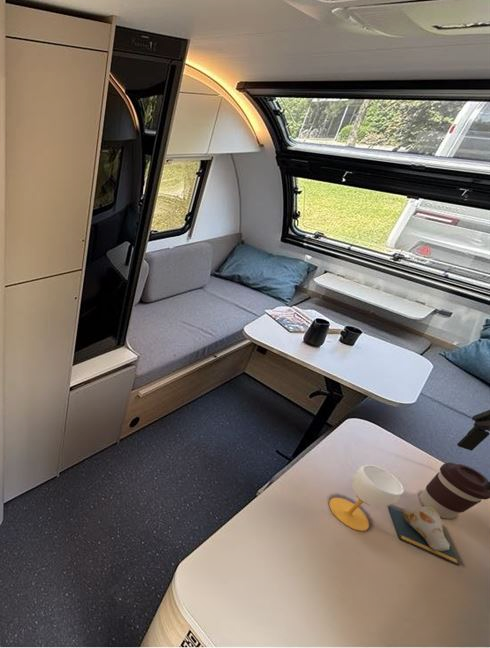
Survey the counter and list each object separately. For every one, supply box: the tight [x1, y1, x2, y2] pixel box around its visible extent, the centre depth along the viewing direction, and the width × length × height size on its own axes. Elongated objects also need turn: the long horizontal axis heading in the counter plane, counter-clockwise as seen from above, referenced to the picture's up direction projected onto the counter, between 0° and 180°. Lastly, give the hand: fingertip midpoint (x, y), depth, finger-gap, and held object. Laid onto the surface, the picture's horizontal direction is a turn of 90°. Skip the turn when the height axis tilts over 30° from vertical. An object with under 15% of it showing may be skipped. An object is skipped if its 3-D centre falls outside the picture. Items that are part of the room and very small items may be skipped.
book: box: [387, 505, 461, 566], centre depth 95 cm, size 12×10×1 cm
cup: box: [328, 464, 405, 532], centre depth 94 cm, size 9×9×16 cm
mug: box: [401, 506, 451, 551], centre depth 94 cm, size 8×10×10 cm
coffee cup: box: [419, 462, 490, 520], centre depth 99 cm, size 10×10×15 cm
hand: (477, 467), depth 88 cm, fingers open, 13 cm apart
